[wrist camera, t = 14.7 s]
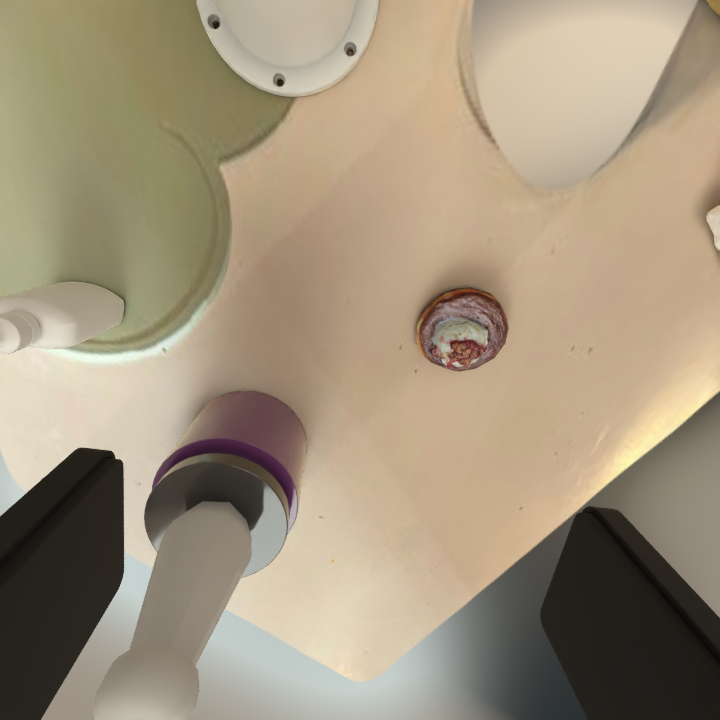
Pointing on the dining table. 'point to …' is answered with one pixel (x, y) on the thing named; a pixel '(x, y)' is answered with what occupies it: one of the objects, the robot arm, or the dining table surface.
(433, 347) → the pastry
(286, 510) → the jar
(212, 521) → the salt shaker
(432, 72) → the dining table surface
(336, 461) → the dining table surface
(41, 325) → the eye dropper bottle
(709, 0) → the kendama
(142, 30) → the dining table surface
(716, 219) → the bust
